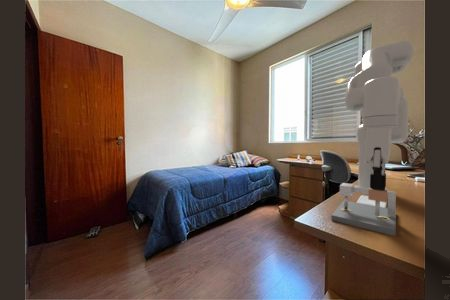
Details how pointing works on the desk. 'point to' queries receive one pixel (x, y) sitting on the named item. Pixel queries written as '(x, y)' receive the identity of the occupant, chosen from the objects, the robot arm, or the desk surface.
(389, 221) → the bolt plate
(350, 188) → the light grey bracket
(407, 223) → the desk surface
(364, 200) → the hard drive
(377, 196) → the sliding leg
